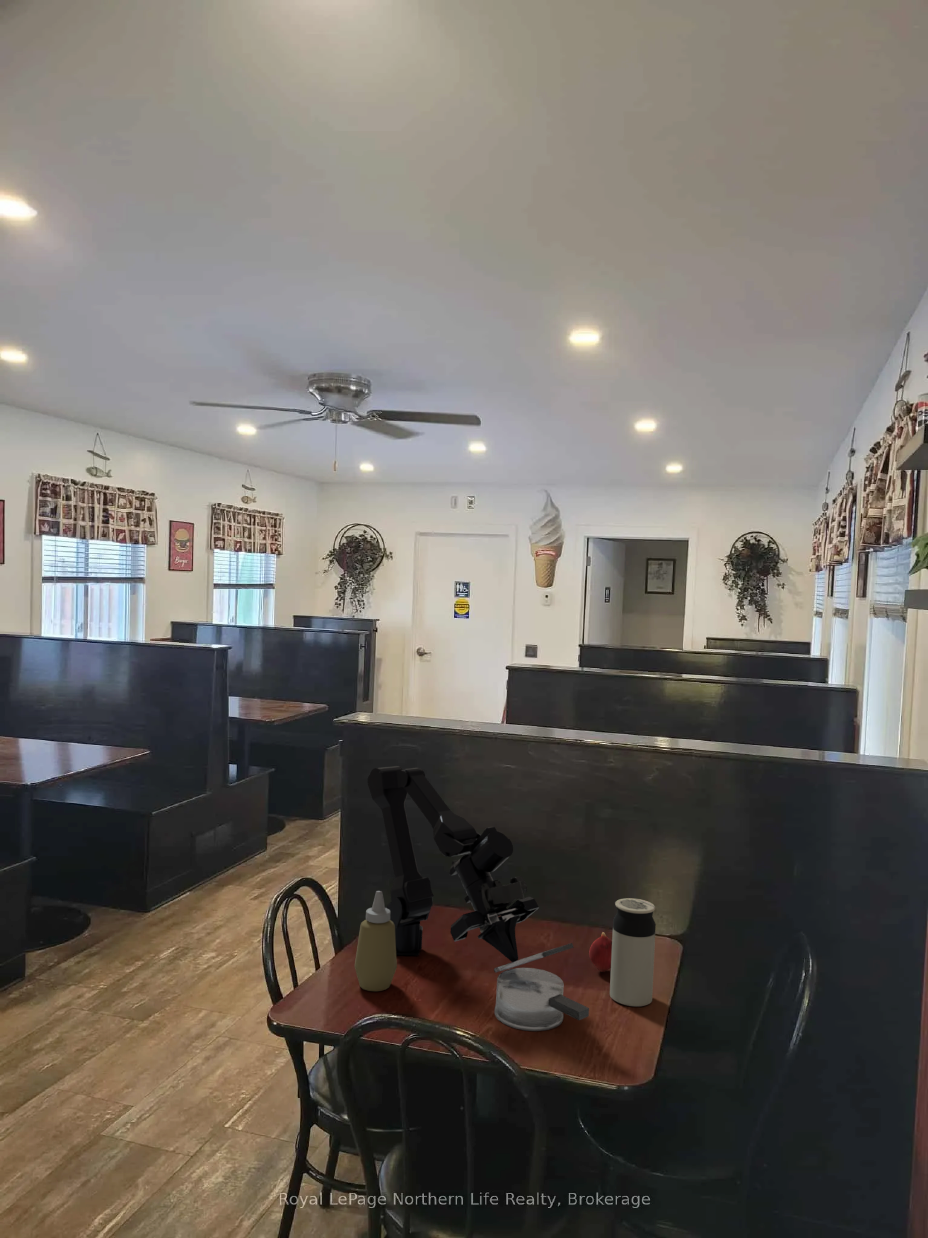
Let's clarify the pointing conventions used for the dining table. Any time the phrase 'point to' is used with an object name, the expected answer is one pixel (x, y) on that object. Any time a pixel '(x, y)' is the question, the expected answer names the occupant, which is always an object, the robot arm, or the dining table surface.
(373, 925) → the squeeze bottle
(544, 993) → the pot
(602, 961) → the onion
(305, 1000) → the dining table surface
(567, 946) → the lid
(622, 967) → the travel mug
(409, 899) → the robot arm
